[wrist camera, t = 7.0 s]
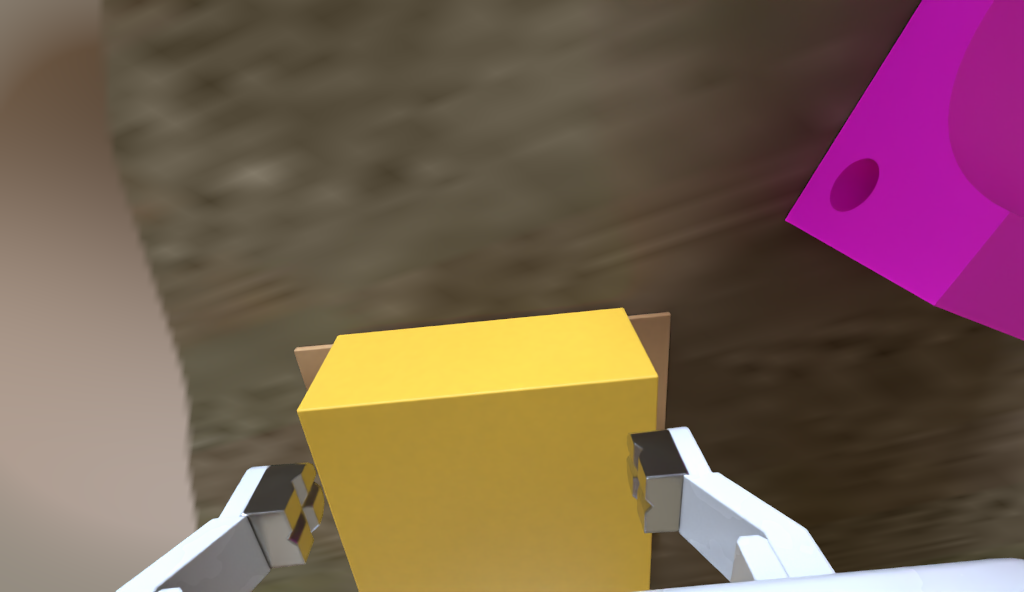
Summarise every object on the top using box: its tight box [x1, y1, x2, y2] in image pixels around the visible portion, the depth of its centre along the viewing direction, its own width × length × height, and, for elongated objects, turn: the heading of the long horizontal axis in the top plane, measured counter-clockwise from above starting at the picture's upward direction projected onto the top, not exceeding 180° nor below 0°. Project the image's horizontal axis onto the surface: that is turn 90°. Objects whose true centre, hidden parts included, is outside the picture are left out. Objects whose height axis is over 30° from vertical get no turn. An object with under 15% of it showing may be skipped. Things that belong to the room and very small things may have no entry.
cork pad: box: [294, 312, 671, 430], centre depth 24 cm, size 13×16×1 cm
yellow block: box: [297, 308, 659, 592], centre depth 21 cm, size 5×12×11 cm
